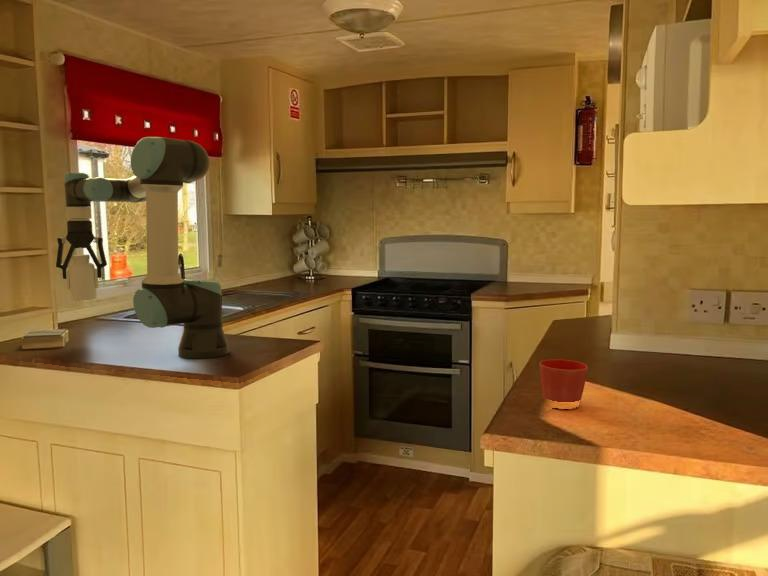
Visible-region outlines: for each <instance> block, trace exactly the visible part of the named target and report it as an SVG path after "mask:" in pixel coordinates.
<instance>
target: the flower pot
mask: <svg viewBox="0 0 768 576" xmlns="http://www.w3.org/2000/svg"><path fill="white" fill-rule="evenodd" d="M538 365H539V375H540V381H541V382H540V383H541V392H542V395H543V397H544V398H546V399H549V400H552V401H557V402H575V401H579V400H581V401H582V397H583V394H584V389H585V384H586V381H587V376H588V371H589V367H588V365H587V364H586V363H584V362H580V361H577V360H569V359H561V358H560V359H559V358H558V359H555V358H554V359H545V360H541V361H540V362H539V364H538ZM544 398H543V399H544ZM572 410H573V411H574V410H575V409H568V410H567V411H572ZM560 411H565V410H564V409H560Z"/></svg>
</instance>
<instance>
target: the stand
mask: <svg viewBox="0 0 768 576" xmlns="http://www.w3.org/2000/svg"><path fill="white" fill-rule="evenodd" d="M69 332H70V331H69V329H67V328H57V329H55V328H54V329H39V330H38V329H37V330H36V329H35V330H32V329H31V330H29V332H27V333H26V334H25V335H23V336H22V337H21V350H29V349H44V348H45V349H48V348H49V349H50V348H62V347H65V345H66V344H67V343H68V341H69V340H70V339H69V338H70V337H69Z"/></svg>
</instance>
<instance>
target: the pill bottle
mask: <svg viewBox="0 0 768 576" xmlns="http://www.w3.org/2000/svg"><path fill="white" fill-rule="evenodd" d="M90 257H91V256H90V254H73V255H72V257H71V260H72V263H69V264H68V269H69V281H70V289H69V292H70V293H69V294H70V300H71V301H74V302H75V301H77V302H80V301H81V302H82V301H92V300H96V299H97V297H98V296H97V288H95V270H94V269H95V268H96V265H95V263H92V262H90V259H91V258H90Z"/></svg>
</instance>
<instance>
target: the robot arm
mask: <svg viewBox="0 0 768 576" xmlns="http://www.w3.org/2000/svg"><path fill="white" fill-rule="evenodd" d="M130 156H131V157H130V168H131V170H132V173H133V176H131V177H129V178H106V177H100V176H99V177H98V176H93V177H90V175H89V173H87V172H66V173H65V175H64V182H63V183H64V184H63V186H64V195H65V212H66V219H67V221H66V227H67V230H66V231H67V232H66V233H67V234H66V236H65V237H58V238H57V239H56V240H57V244H58V246H57V247H58V248H57V255H56V262H55V267H56V268H59V269H61V270H62V279H63V280H66V290H70V281H69V265H70V262H71V260H72V255H74V252H75V250H76V249H80V248H81V249H86V250H87V253H89V254H88V255H89V256H90V257H91V260H92V261H93V264H94V266H95V269H94V270H95V288H96V289H99V288H100V284H99V279H101V278H102V275H103V274H102V269H103V268H104V267H107V266H108V263H107V258H106V255H105V251H104V245H103V241H104V238H103V236H94V233H93V222H92V202H93V203H94V202H97V203H98V202H102V203H103V202H107V203H111V202H114V203H118V202H119V203H120V202H121V203H134V204H135V203H143V202H145V203H146V204H145V205H146V208H145V209H146V211H145V212H146V217H145V219H146V221H145V222H146V271H147V274H146V276H145V277H144V278H143V279H142V280H141V288H139V289H137V290H136V291H135V292H134V295H133V298H132V302H133V309H134V312H135V315H136V317H137V319H138V320H139V321H140V323H141V324H142V325H143V326H145V327H147V328H150V329H155V328H163V329H164V328H165V327H170V326H171V327H172V326H176V325H183V331H182V335H181V338H180V341H179V345H178V352H177V353H178V356H179V357H181V358H183V359H184V358H185V359H195V360H196V359H197V360H198V359H210V358H211V359H212V358H219V357H222V356H226V355H228V354H229V352H230V349H229V343H228V340H227V337H226V334H225V332H224V329H223V302H222V301H223V299H222V298H223V293H222V286H221V284H220V283H219V282H217V281H213V280H201V279H186V278H184V279H183V278H182V277H181V276H180V275H179V208H178V207H179V199H178V198H179V197H178V196H179V195H178V194H179V191H181V190H182V189H183V188H184V184H191V183H194V182H197V181H199V180H201V179H202V178H204V177H205V176H206V175H207V174H208V172H209V169H210V163H211V161H210V157H209V154H208V153H207V151H206V149H205V147H203V146H202V145H201V144H199V143H198V142H196V141H193V140H188V139H187V140H186V139H178V138H171V137H170V138H168V137H161V136H146V137H142V138H140V140H138V141H137V142H136V145H134V147H133V148H132V152H131V155H130ZM93 241H95V243H96V244H97V247H98V252H99V257H100V259H101V260H99V259H98V257H97V255H96V253H95V251H94V249H93V248H92V247H93V246H92V245H91V244H92V242H93ZM66 242H67V243H68V244H70V247H69V249H68V252H67V255H66V257H65V260H64V261H63V254H64V244H66ZM62 261H63V264H62ZM100 261H101V263H100Z"/></svg>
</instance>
